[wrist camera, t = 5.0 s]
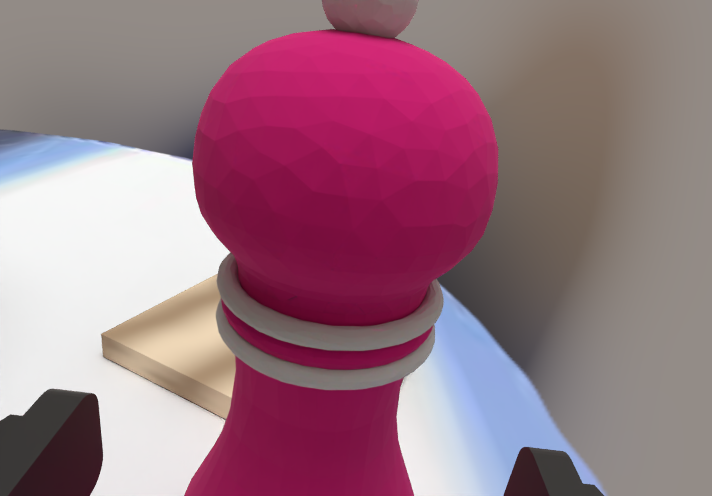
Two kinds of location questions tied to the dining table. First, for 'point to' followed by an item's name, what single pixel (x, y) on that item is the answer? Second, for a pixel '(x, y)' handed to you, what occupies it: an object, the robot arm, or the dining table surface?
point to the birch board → (179, 348)
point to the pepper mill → (334, 244)
